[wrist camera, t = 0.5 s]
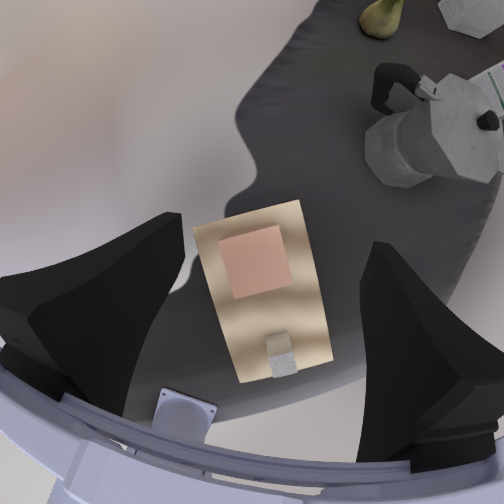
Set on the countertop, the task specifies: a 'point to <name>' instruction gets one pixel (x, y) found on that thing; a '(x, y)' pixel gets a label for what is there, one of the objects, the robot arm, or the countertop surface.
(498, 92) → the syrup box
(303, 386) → the countertop surface
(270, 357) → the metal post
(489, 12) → the skincare box
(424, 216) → the countertop surface
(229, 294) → the maple board
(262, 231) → the salmon orange cube
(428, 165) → the coffeepot
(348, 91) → the countertop surface
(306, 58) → the countertop surface
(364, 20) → the fennel bulb
